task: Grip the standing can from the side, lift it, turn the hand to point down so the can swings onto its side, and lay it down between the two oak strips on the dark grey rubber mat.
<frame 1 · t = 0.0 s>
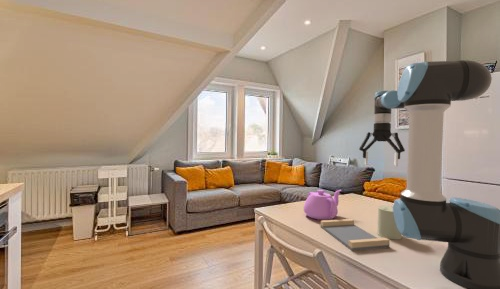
hand: (380, 165, 124), 28 cm above the table, tool pointing down, fingers open, 13 cm apart
teapot: (323, 216, 131), on the table
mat: (351, 236, 105), on the table
can: (389, 235, 107), on the table
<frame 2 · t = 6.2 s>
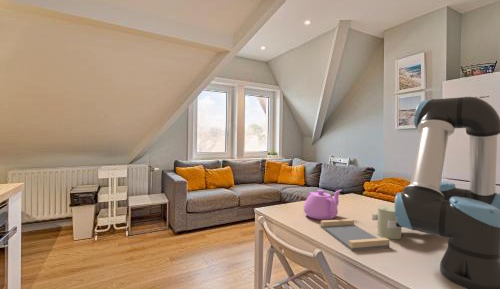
hand: (380, 220, 106), 7 cm above the table, tool horizontal, fingers closed on can, 9 cm apart
can: (388, 235, 107), on the table, touching gripper
everything else where it was.
when the fingers open (2 cm above the table, at t = 15.4 s): can drops 1 cm, resting on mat.
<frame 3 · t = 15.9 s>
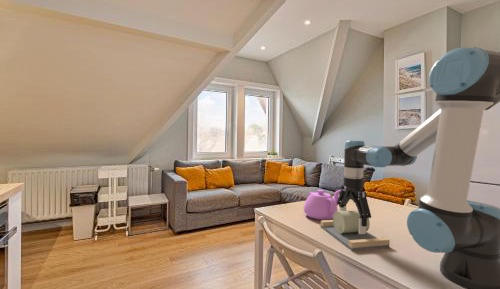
hand: (351, 227, 105), 4 cm above the table, tool pointing down, fingers open, 13 cm apart
can: (363, 220, 108), point 6 cm above the table, touching gripper, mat
everything else where it was.
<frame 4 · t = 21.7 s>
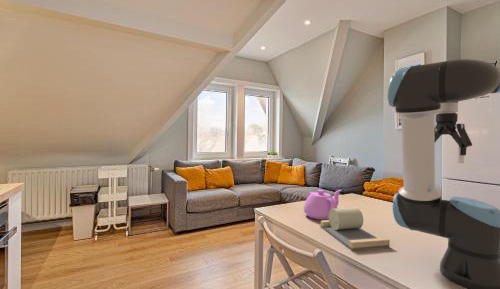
hand: (444, 161, 110), 32 cm above the table, tool pointing down, fingers open, 13 cm apart
can: (357, 217, 112), point 6 cm above the table, touching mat
everything else where it was.
at the end: can tilted 90°; can inside the target area on the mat (9.0 cm from its centre), point 5.6 cm above the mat's base; the gripper is holding nothing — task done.
